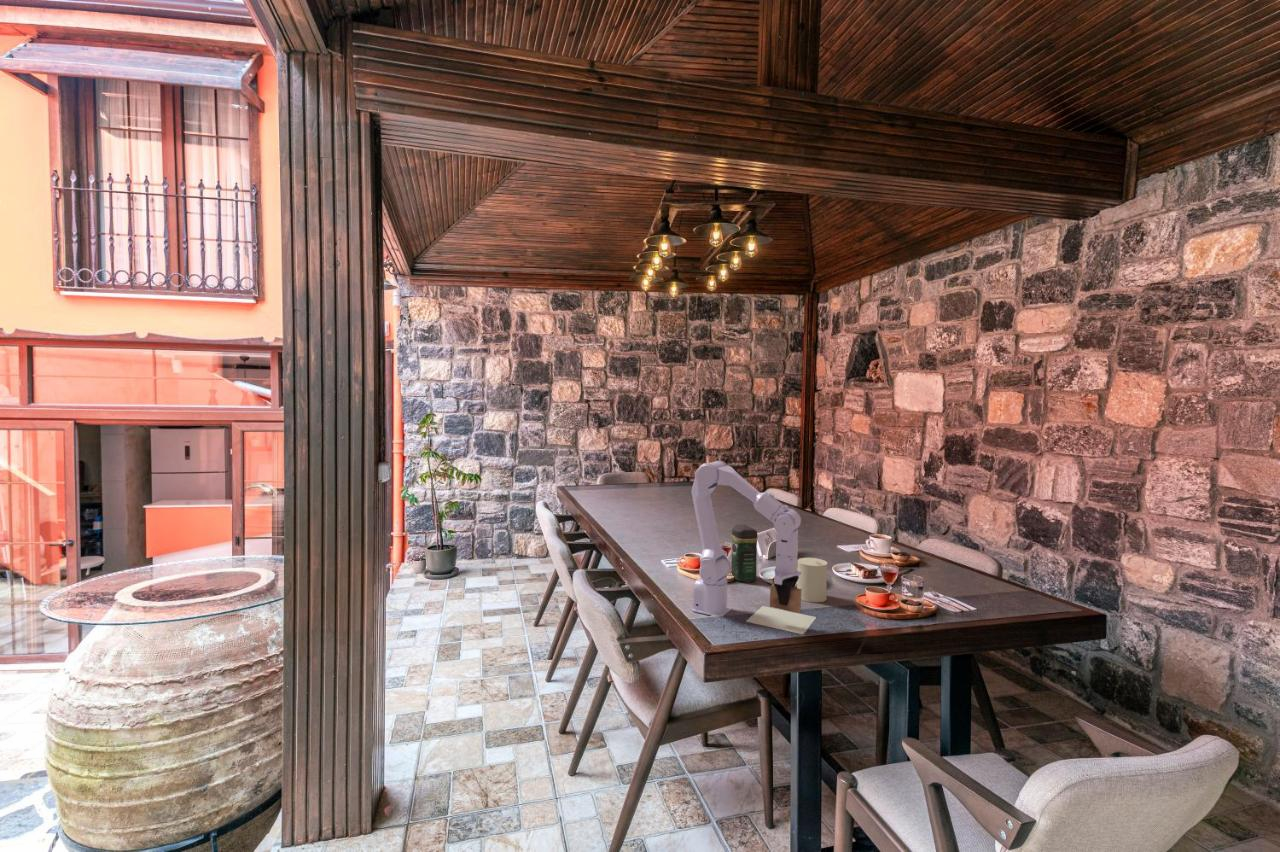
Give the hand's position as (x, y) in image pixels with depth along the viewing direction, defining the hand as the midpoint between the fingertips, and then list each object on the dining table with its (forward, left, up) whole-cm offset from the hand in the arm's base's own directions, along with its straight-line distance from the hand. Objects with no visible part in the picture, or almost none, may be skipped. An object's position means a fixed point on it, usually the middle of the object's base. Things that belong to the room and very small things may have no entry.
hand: (784, 603), depth 157 cm
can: (0, +28, -7) cm, 29 cm away
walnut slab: (0, 0, -2) cm, 2 cm away
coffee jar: (-25, +34, -7) cm, 43 cm away
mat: (-2, +3, -7) cm, 8 cm away
